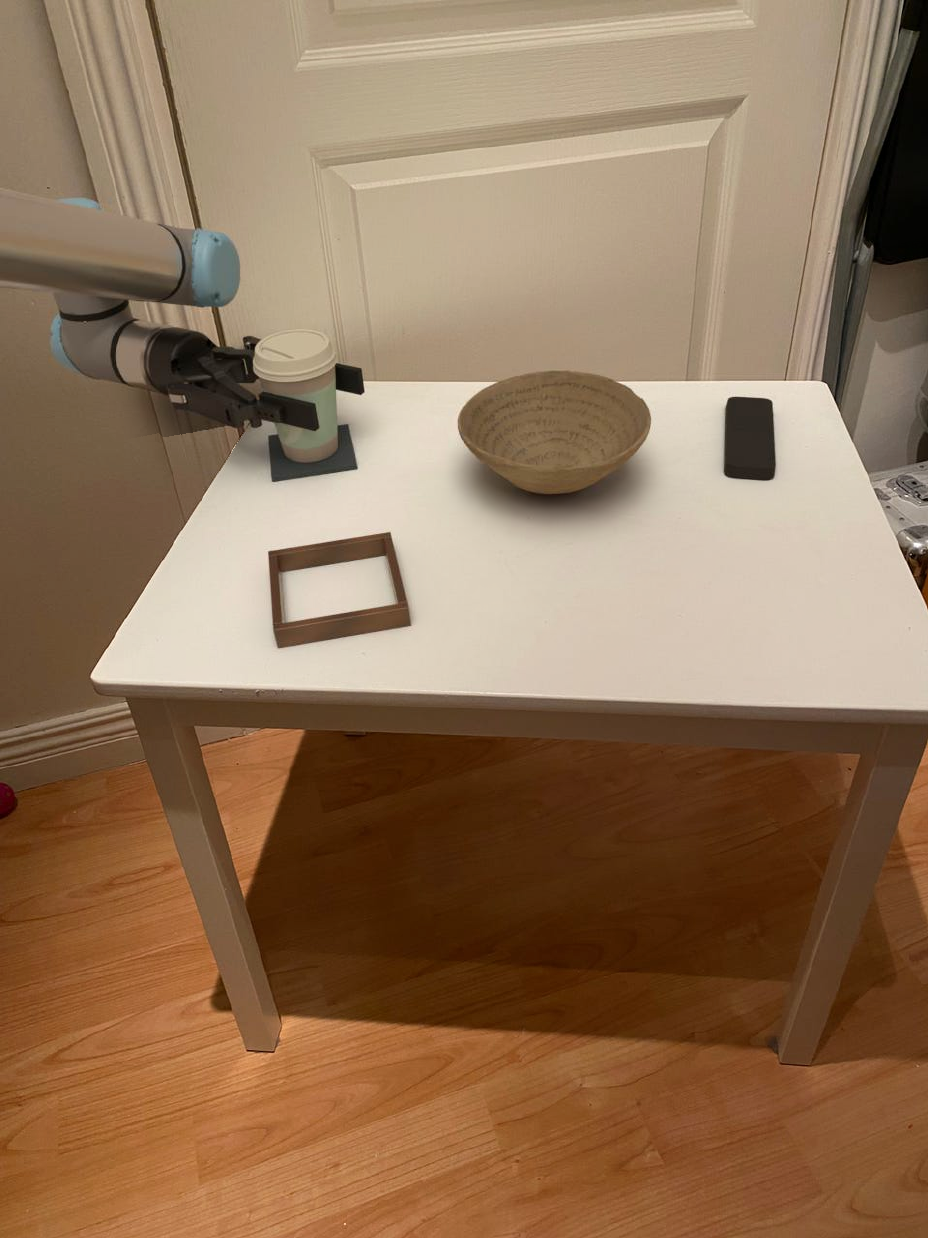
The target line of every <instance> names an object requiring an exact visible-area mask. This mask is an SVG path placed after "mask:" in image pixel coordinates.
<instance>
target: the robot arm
mask: <svg viewBox="0 0 928 1238" xmlns="http://www.w3.org/2000/svg"><path fill="white" fill-rule="evenodd" d="M236 247H237V246H236V245H235V244H234V242H233V240H231V238H230V237H229V236H228V235H227V234H225V233H223V232H221V231H214V230H206V229H204V228H201V227H197V228H193V229H192V228H183V227H176V226H172V225H166V224H163V223H162V224H161V223H156V222H153V221H150V220H145V219H141V218H137V217H132V216H127V215H123V214H119V213H115V212H111V211H106V210H102V207H101V205H100V204H99V203H98V201H95V200H93V199H89V198H88V197H67V198H61V199H51V198H48V197H44V196H40V195H39V196H38V195H35V194H30V193H25V192H21V191H16V190H12V189H8V188H3V187H0V288H1V289H9V290H22V291H33V292H45V293H52V295H53V298H54V300H55V301H54V302H55V303H56V306H57V308H58V312H59V313H57V315H55V317H54V319H53V320H52V322H51V325H50V330H49V331H50V340H49V344H50V349H51V353H52V354H53V356H54V357H55V359H56V360H57V362H58V363H59V364H60V365H62V366H63V367H64V368H66V369H67V370H69V371H72V372H74V373H77V374H80V375H83V376H84V377H87V378H89V379H92V380H98V381H99V380H103V381H108V382H113V383H117V384H122V385H126V386H129V387H132V388H137V389H141V390H145V391H148V392H152V393H156V394H163V395H164V396H168V397H169V400H170V403H171V406H172V408H173V409H174V410H181V411H189V412H192V413H195V414H196V415H200V416H203V417H205V418H208V419H211V420H213V421H216V422H219V423H221V424H223V425H226V426H228V427H231V428H234V429H241V428H243V427H244V426H245V422H246V421H249V424H250V428H252V429H258V428H261V427H262V426H263V422H262V421H266V422H270V423H272V424H273V423H283V424H287V425H291V426H295V427H299V428H303V429H307V430H311V431H316V430H318V429H319V428H320V427H319V422H318V416H317V410H316V404H315V403H311V402H307V401H303V400H298V399H294V398H290V397H285V396H281V395H275V394H272V393H268V392H264V391H263V390H262V391H261V392H260V393H259V394H258V399H257V395H256V394H254V393H253V392H252V391H250V390H249V389H247V388H245V387H244V386H243V385H241V384H255V383H256V382H257V380H260V379H259V376H258V375H257V374H256V373H255V372H254V370H253V358H254V356H255V347H256V345H257V344H258V342H259V341H261V340H262V338H258V337H255V336H252V335H245V336H243V337H242V345H241V346H239V347H236V348H235V347H233V346H218V345H216V344H215V342H213V341H212V340H211V339H210V337H208V336H207V335H206V334H205V333H203V332H201V331H198V330H193V329H187V328H183V327H179V326H173V325H170V324H163V323H158V322H154V321H153V322H152V321H148V320H145V319H139V318H135V317H133V313H132V311H131V306H130V301H133V302H134V301H135V302H142V303H143V302H149V303H156V304H157V303H158V304H166V305H167V304H168V305H178V306H189V307H197V308H200V309H201V308H204V309H205V308H222V307H223V308H224V307H225V306H227V305H229V304H230V303H231V302H232V301H233V300H234V299H235V297H236V295H237V293H238V291H239V287H240V283H241V262H240V261H241V260H240V257H239V253H238V250H237V248H236ZM84 321H86V322H84ZM363 376H364V375H363V368H362V367H358V366H353V365H347V364H344V363H338V362H336V364H335V377H336V391H340V392H345V393H348V394H353V395H358V396H362V395H363V394H364V393H365V392H366V391H365V383H364V377H363Z"/></svg>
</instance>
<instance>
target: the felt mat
mask: <svg viewBox="0 0 928 1238" xmlns="http://www.w3.org/2000/svg"><path fill="white" fill-rule="evenodd" d="M337 432H338V448H337V450H336V452H335V453H334V454H333V455H331V456H330V457H328V458H326V459H323V460H320V461H317V462H310V463H301V462H296V461H293V460H290V459H289V458H287V457H286V455H285V453H284V450H283V447H282V444H281V441H280V438H279V435H278V433H277V434H269V435H268V436H267V438H268V440H267V441H268V452H269V463H270V464H269V466H270V478H271V481H272V482H278V481H280V482H281V481H285V480H294V479H299V478H305V477H313V476H320V475H326V474H332V473H338V472H339V473H341V472H345V471H346V472H347V471H351V470H352V471H353V470H357V469H358V463H357V459H356V454H355V450H354V445H353V440H352V436H351V431H350V426H349V423H346V424H345V423H344V424H337Z"/></svg>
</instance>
